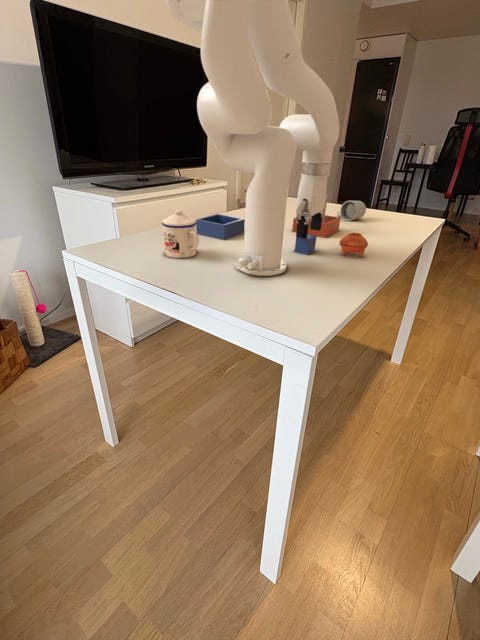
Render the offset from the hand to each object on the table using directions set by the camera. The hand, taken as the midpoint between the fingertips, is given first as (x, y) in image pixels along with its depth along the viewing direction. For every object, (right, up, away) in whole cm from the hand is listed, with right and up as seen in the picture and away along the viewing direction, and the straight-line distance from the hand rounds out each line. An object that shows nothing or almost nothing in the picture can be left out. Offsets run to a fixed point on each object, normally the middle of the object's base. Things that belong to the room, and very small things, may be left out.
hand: (308, 233), depth 99 cm
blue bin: (-27, +4, +16) cm, 32 cm away
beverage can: (+7, +7, +23) cm, 25 cm away
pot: (+13, -6, +1) cm, 14 cm away
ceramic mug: (+25, +17, +43) cm, 52 cm away
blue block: (-1, -5, +2) cm, 5 cm away
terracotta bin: (+7, +7, +24) cm, 26 cm away
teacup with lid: (-35, -7, -5) cm, 37 cm away
